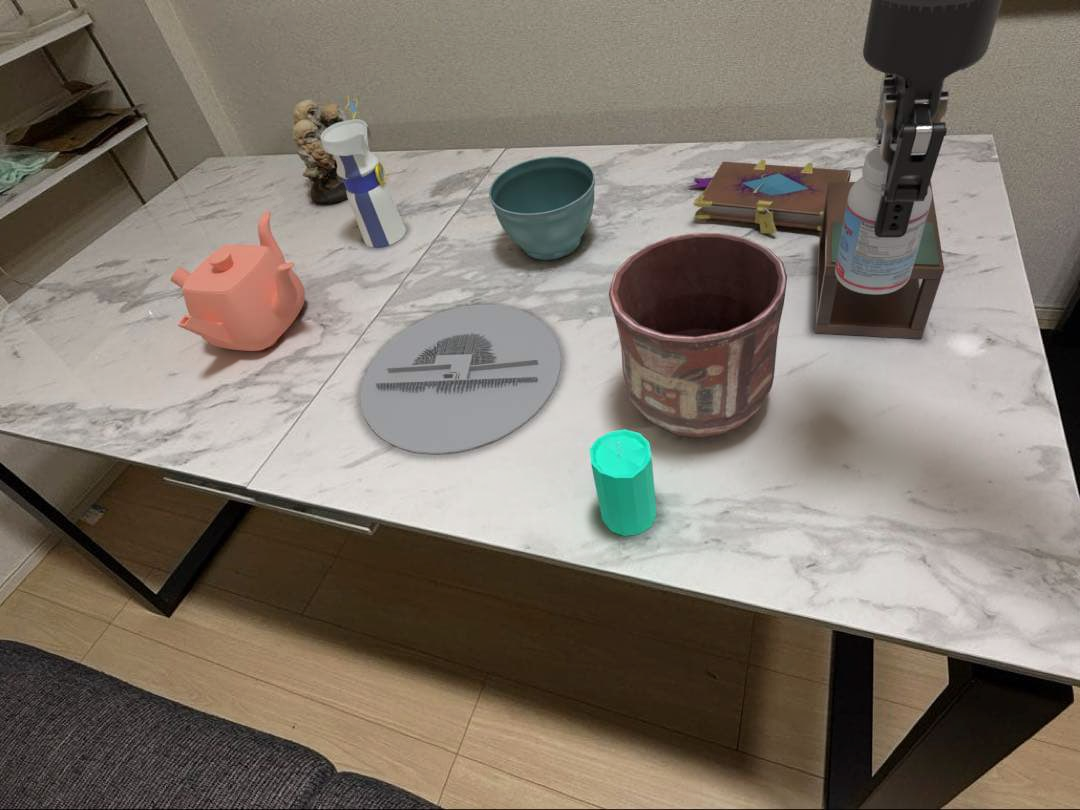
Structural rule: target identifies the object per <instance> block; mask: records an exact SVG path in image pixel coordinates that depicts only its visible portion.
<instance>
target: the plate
mask: <svg viewBox="0 0 1080 810" xmlns="http://www.w3.org/2000/svg"><path fill="white" fill-rule="evenodd" d="M561 355H562V354H561V350H560V346H559V343H558V341H557V338H556V336H555V335H554V333H553V332H552V330H551V328H549V327H548V326H547V324H545V322H543V321H542V320H540V319H539V318H537V317H536V316H534V315H532V314H531V313H529V312H526V311H524V310H522V309H518V308H516V307H511V306H506V305H500V304H471V305H465V306H464V305H463V306H459V307H455V308H451V309H447V310H443V311H440V312H438V313H435V314H432V315H430V316H427V317H425V318H423V319H421V320H419V321H417V322H416V323H413V324H412V325H410V326H409V327H407V328H405V329H404V330H402V331H401V332H399V333H398V334H397V335H395V336H394V337H393V338H392V339H391V340H390V341H388V343H386V344H385V345H384V346H383V348H381V350H380V351H379V352H378V353H377V354H376V356H375V357H374V358H373V359H372V361H371V362H370V365H369V366H368V368H367V370H366V372H365V374H364V376H363V380H362V382H361V383H362V384H361V388H360V405H361V410H362V414H363V417H364V419H365V421H366V423H367V424H368V426H369V427H370V428H371V430H372V431H373V433H375V434H376V435H377V436H378V437H379V438H381V440H383V441H385V442H386V443H388V444H389V445H392V446H393V447H396V448H398V449H401V450H403V451H407V452H411V453H414V454H423V455H449V454H458V453H463V452H468V451H471V450H475V449H478V448H481V447H484V446H486V445H489V444H492V443H494V442H497V441H499V440H501V439H502V438H504V437H506V436H509V435H510V434H512V433H513V432H515V431H516V430H518V429H519V428H520V427H522V426H523V425H524V424H526V423H527V422H528V421H530V420H531V419H532V418H533V417H534V416H536V414H537V413H538V412H539V411H540V410H541V409H542V407H544V405H545V404H546V402H547V401H548V400H549V398H550V397H551V395H552V394H553V392H554V391H555V388H556V386H557V383H558V380H559V377H560V373H561V365H562V356H561Z"/></svg>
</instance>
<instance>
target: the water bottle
mask: <svg viewBox="0 0 1080 810" xmlns="http://www.w3.org/2000/svg"><path fill="white" fill-rule="evenodd" d="M346 97H347V104H346V106H345V107H344V109H345V111H349V112H350V114H351V117H352V119H349V120H347V121H342V122H339V123H336V124H334V125H332V126H330V127H328V128H327V129H325V130H324V131H323V132H322V134H321V143H322V147H323V150H324V151H325V152H327V153H329V154H332V155H333V156H334V157H335V159H336V162H337V174H338V176H340V177H342V180H343V182H344V184H345V187H346V189H347V198H348V199H347V200H348V203H349V206H350V209H351V210H352V213H353V215H354V218H355V220H356V223H357V225H358V228H359V230H360V231H359V232H360V233H361V237H362V240H363V243H364V244H365V245H366V246H367V247H368V248H369V247H370V248H373V249H374V248H375V249H378V248H379V249H381V248H385V247H389V246H391V245H394V244H395V243H397V242H399V241H400V240H401V239H402V238H403V237H404V236H405V235H406V232H407V228H406V226H405V224H404V222H403V219H402V217H401V215H400V212H399V210H398V208H397V206H396V203H395V200H394V198H393V195H392V193H391V189H390V187H389V186H388V184H387V182H386V177H387V176H386V172H385V168H384V166H383V164H382V163H381V162H380V161H379V160H378V158H377V156H375V155H374V154H373V153H372V152H371V150H370V147H369V140H370V141H373V133H372V131H371V129H370V126H368V124H367V122H366V121H365V120H363V119H358V118H356V115H360V114H362V113H361V111H360V109H359V108H358V101H359V99H358V98H354V99H352V98H351V97H350V96H349V95H347V96H346ZM368 139H369V140H368Z"/></svg>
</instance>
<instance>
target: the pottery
mask: <svg viewBox="0 0 1080 810" xmlns="http://www.w3.org/2000/svg"><path fill="white" fill-rule="evenodd" d="M787 282H788V274H787V271H786V268H785V266H784V262H783V261H782V259H781V258H779V257H778V256H777V255H776V253H774V252H773V251H772V250H771V249H770V248H769V247H767V246H765V245H762V244H760V243H758V242H756V241H754V240H753V239H750V238H748V237H743V236H739V235H733V234H730V233H726V232H725V233H724V232H692V233H686V234H680V235H675V236H674V235H673V236H669V237H667V238H664V239H661V240H659V241H656V242H653V243H650V244H648V245H647V246H645V247H643V248H641V249H640V250H638V251H637V252H635V253H633V254H631V256H629V257H627V258H626V260H625V261H624V262H623V263H622V264H621V265H620V267H619V268H618V269H617V270H616V271H615V272H614V274H613V275H612V280H611V283H610V287H609V291H608V298H609V303H610V306H611V310H612V313H613V317H614V320H615V324H616V328H617V333H618V338H619V342H620V343H619V344H620V349H621V365H622V366H621V367H622V374H623V379H624V383H625V386H626V390H627V393H628V396H629V399H630V401H631V403H632V405H633V406H634V407H635V408H636V409H637V410H638V411H639V412H640V413H641V414H642V415H643V416H644V417H645V418H646V420H648V421H650V423H651V424H653V425H655V426H657V427H659V428H661V429H663V430H666V431H668V432H670V433H671V434H674V435H679V436H687V437H695V438H705V437H710V436H717V435H723V434H725V433H727V432H730V431H732V430H734V429H737V428H739V427H741V426H742V425H743V424H744V423H746V422H747V421H748V420H749V419H750V418H752V417H753V416H754V415H755V414H756V413H757V412H758V411H759V410H760V409H761V407H762V405H763V404H764V403H765V400H766V399H767V396H768V395H769V393H770V391H771V390H772V387H773V384H774V377H775V371H776V370H775V369H776V360H777V359H776V358H777V347H778V337H779V331H780V324H781V319H782V315H783V310H784V306H785V299H786V290H787Z"/></svg>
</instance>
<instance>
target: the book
mask: <svg viewBox="0 0 1080 810" xmlns="http://www.w3.org/2000/svg"><path fill="white" fill-rule="evenodd" d="M766 162H767V160H766V159H760V160H759V162H758V163H750V162H737V161H736V162H735V161H734V162H733V161H722V162H721V163H720V165H719V167H718V168H717V170H716V172H715V173H714V175H713V176H712V177H705V178H700V177H693V179H694V180H695V181H696V182H697V183H694V184H691V185H688V186H687V187H688V188H696V189H699V188H700V189H701V188H705V189H704V190H703V192H702V194H699V195H698V196H697V197H696V198H695V199H694V201H693V204H692V206H693V207H698V208H699V209H697V210H696V211H695V213H694V218H696V219H699V220H702V219H703V220H704V219H705V220H706V219H715V220H724V221H725V220H726V221H732V222H733V221H735V222H743V223H752V224H757V225H759V230H760V234H776V233H777V228H776V226H780V227H790V228H800V229H808V230H809V229H810V230H816V231H818V232H821V226H822V220H823V213H824V207H825V200H826V194H827V187H828V182H851V181H850V180H851V175H852V170H847V169H833V168H821V167H820V168H819V167H813V166H814V163H813V162H807V163H806V165H805V166H792V165H791V166H790V165H778V164H777V165H776V164H766Z"/></svg>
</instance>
